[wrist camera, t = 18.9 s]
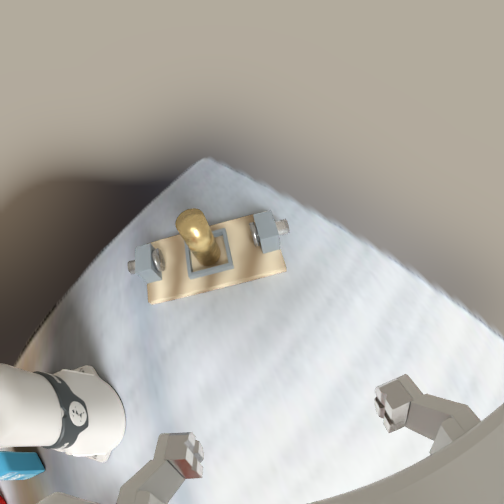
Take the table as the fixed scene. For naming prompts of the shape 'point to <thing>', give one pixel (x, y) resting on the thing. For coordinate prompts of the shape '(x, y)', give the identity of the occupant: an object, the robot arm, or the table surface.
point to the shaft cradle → (224, 270)
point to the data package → (19, 465)
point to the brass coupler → (198, 236)
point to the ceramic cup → (2, 500)
